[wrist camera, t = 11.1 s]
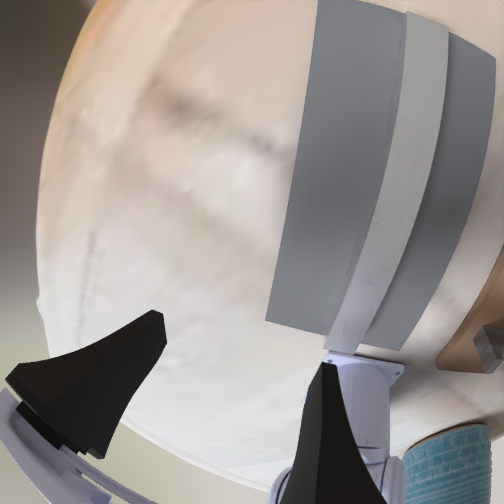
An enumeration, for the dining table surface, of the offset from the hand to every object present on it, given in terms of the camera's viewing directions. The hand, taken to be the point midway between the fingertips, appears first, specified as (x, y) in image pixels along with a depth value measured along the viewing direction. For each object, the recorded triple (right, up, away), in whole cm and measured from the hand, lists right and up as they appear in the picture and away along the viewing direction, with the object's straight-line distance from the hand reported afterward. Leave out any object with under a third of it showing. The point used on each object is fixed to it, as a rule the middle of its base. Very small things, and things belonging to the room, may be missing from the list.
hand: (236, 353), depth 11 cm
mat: (+9, +8, +4) cm, 13 cm away
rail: (+9, +8, +3) cm, 12 cm away
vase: (+33, -27, +15) cm, 45 cm away
